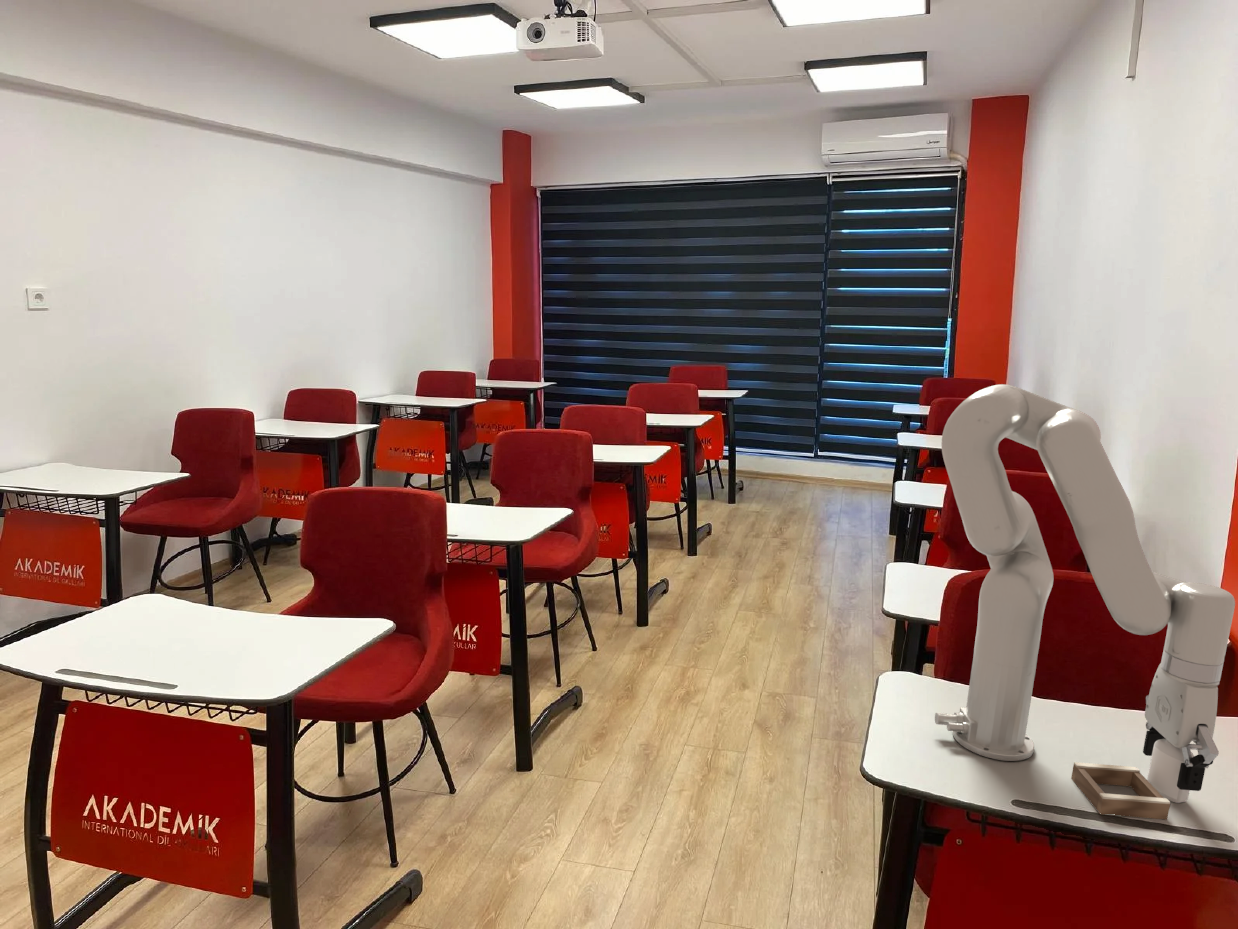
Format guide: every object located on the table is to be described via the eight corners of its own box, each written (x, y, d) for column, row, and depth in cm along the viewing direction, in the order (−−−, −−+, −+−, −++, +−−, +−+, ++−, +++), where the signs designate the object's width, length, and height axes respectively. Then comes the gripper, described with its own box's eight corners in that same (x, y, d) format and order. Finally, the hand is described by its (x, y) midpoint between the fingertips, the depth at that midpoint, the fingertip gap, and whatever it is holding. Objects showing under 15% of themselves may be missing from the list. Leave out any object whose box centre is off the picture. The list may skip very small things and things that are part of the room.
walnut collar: (1100, 814, 127) (1103, 797, 126) (1071, 778, 136) (1073, 762, 136) (1167, 819, 126) (1170, 802, 126) (1133, 783, 136) (1136, 767, 135)
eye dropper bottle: (1158, 802, 131) (1172, 729, 129) (1143, 781, 136) (1156, 711, 134) (1190, 806, 130) (1205, 732, 128) (1173, 785, 136) (1187, 714, 133)
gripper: (1134, 641, 138) (1117, 741, 141) (1199, 691, 121) (1177, 802, 124) (1183, 645, 137) (1164, 744, 141) (1255, 695, 120) (1231, 807, 124)
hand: (1170, 771), depth 133 cm, fingers open, 9 cm apart
